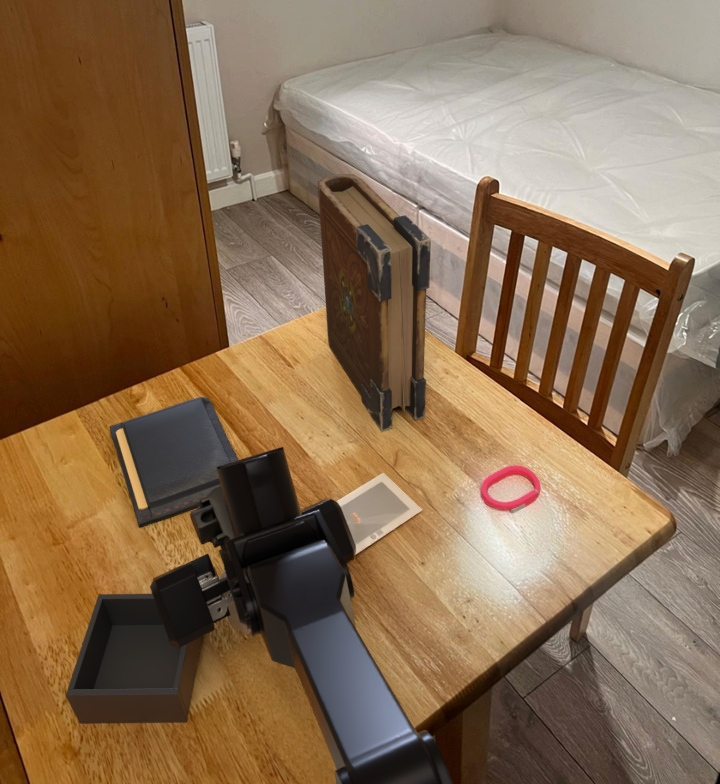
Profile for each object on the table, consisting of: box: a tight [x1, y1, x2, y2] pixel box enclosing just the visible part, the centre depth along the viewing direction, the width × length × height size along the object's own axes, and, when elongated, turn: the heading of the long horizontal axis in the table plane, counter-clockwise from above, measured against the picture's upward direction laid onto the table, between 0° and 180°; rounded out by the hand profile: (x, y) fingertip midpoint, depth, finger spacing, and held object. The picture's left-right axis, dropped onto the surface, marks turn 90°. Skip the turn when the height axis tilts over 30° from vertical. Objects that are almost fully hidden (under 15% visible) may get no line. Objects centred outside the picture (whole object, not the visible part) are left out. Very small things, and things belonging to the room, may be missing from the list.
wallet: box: [109, 396, 239, 529], centre depth 101 cm, size 20×2×15 cm
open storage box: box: [65, 593, 204, 724], centre depth 75 cm, size 11×11×6 cm
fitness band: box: [480, 464, 541, 514], centre depth 94 cm, size 8×6×2 cm
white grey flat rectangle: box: [335, 472, 423, 556], centre depth 90 cm, size 8×15×2 cm, turn 127°
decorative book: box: [317, 173, 432, 433], centre depth 106 cm, size 23×7×30 cm, turn 24°
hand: (241, 561), depth 76 cm, fingers closed on power adapter, 6 cm apart
